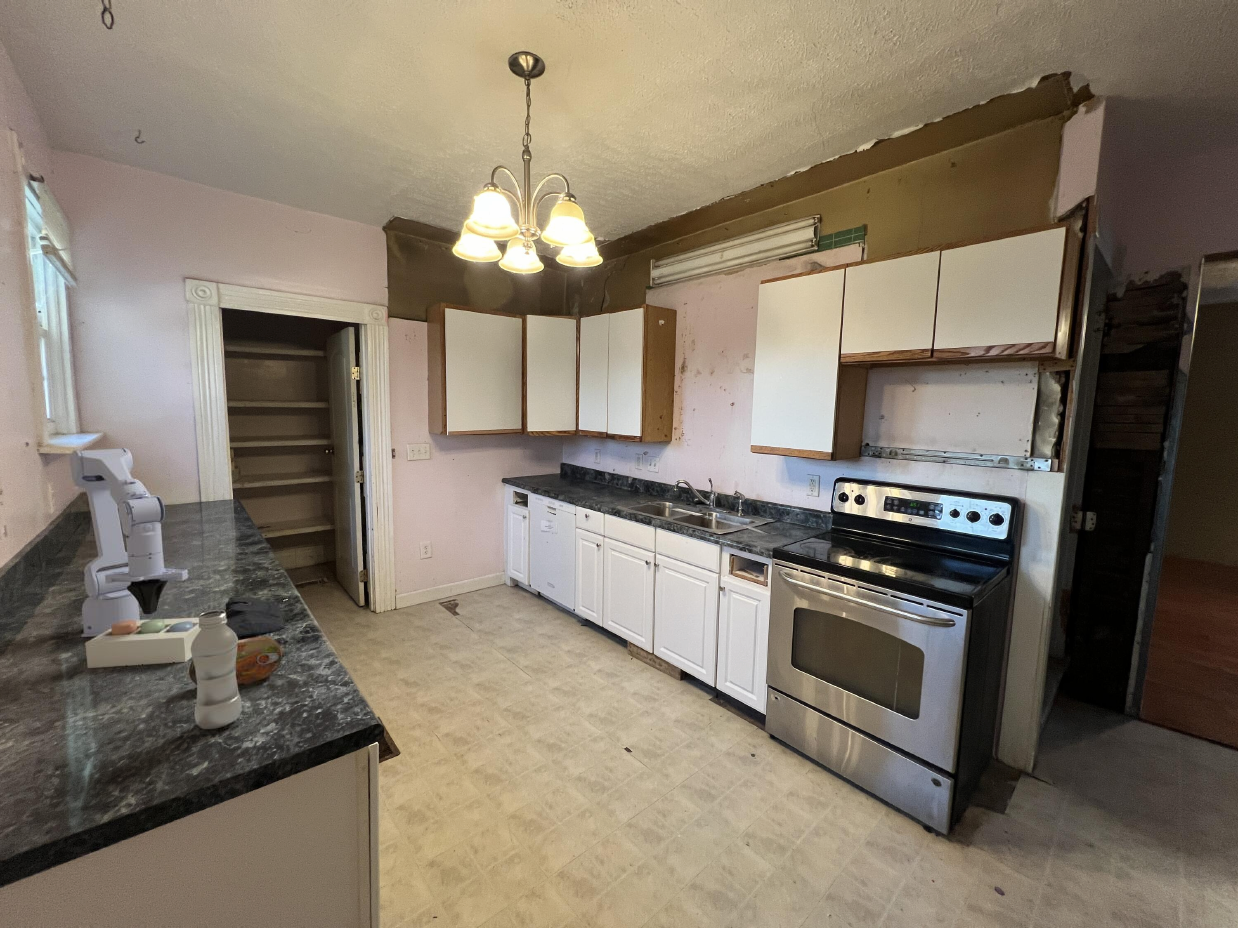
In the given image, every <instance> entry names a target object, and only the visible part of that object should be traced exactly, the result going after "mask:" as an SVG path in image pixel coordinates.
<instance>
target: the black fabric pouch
mask: <svg viewBox="0 0 1238 928" xmlns="http://www.w3.org/2000/svg"><path fill="white" fill-rule="evenodd" d="M280 609H281V608H280V606H279V604H278V602H275V601H266V600H261V599H259V598H256V597H251V596H249V597H247V596H246V597H244V596H231V597H229V598H228V601H227V602H226V603H225V609H224V610H223V611H225V612H226V618H227V623H226V626H228V627H229V628H230V629H232V630H233V631H234V632H235V633H236V635H237V638H239V637H245V636H252V635H255V636H256V635H260V634H268V633H275V632H277V631H278V632H279V631H280V630H284V629H285V628H286V625H285V622H284V617H283V615H282V611H281V610H280Z"/></svg>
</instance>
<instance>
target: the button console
mask: <svg viewBox="0 0 1238 928" xmlns="http://www.w3.org/2000/svg"><path fill="white" fill-rule="evenodd" d="M149 620H150V619H140V620H139V621H136V626H137V630H136V631H134V632H133V633H131V634H129V635H114V636H112V631H111V629H109V630H108V631H106V632H104V633H102V634H100V635H99V636H94V637H93V638H92V639H90V640H88V641H86V642H85V643H84V645H85V651H86V652H85V654H86V663H87V665H86V666H87V669H93V668H108V667H124V666H126V665H127V666H138V665H139V666H140V665H141V666H143V665H155V664H156V665H157V664H170V663H171V664H172V663H173V662H175V663H187V661H188V660H190V659H192V654H191V645H192V642H193V640H194V639H195V637H196V636H197V634H198V633H199V632H200V630H201V628H199V617H186V618H185V617H182V618H164V620H165V629H164V630H162V631H161V632H159V633H151V634H141V627H140V625H141V624H142V623H143V622H146V621H149ZM186 621H190V622H193V628H191V629H190V630H189V631H187V632H170V628H169V627H170V626H171V625H173V624H176V623H179V622H186ZM142 664H143V665H142Z"/></svg>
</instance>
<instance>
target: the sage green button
mask: <svg viewBox="0 0 1238 928" xmlns="http://www.w3.org/2000/svg"><path fill="white" fill-rule="evenodd" d="M164 619H165V618H164ZM164 619H163V618H156V619H155V618H153V619H148V620H149V621H146V622H143V623H142V624H141V625H140V627H141V634H151V633H159V632H161V631H162V630H164V629H165V620H164Z"/></svg>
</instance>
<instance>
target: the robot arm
mask: <svg viewBox="0 0 1238 928" xmlns="http://www.w3.org/2000/svg"><path fill="white" fill-rule="evenodd" d="M133 467H134V460H133V456H132V453H131V451H130V450H129V449H128V448H126V447H122V448H121V447H120V448H110V449H109V448H107V449H87V450H86V449H85V450H78V449H74V450H73V451H72V452H70V454H69V468H70V473H71V478H72V482H73V483H74V486H75V487H77V488H81V489H84V490H85V493H86V495H87V499H88V504H89V509H90V515H91V516H90V517H91V520H92V526H93V532H94V538H95V543H96V549H97V554H98V556H97V557H95V558H94V559H92V561H90V562H89V563H88V564H87V565H85V568H84V570H83V572H84V581H83V582H84V588H85V591H86V594H87V596H88V597H87V598H85V600H84V602H83V604H82V608H81V616H82V617H81V618H82V626H83V628H82V629H83V633H82V634H81V637H82V638H86V637H88V638H89V637H97V636H99V635H100V634H102V633H104V632H106V631H108V630H109V629H111V626H112V625H113V624H116V623H118V622H122V621H128V620H134V621H139V620H141V619H140V609H141V611H142V613H143V615H152V614H153V613H155V612H157V611H158V610H157V609H158V605H159V601H160V598H161V595H162V594H163V593H162V592H163V590H164V589H165V587H166V584H168V581H177V582H183V581H185V580H187V579H188V578H189V575H188V574H189V573H188V569H177V568H176V569H175V568H165V562H164V549H163V538H162V535H163V534H162V524H161V523H162V522H164V520H165V517H166V510H165V509H166V508H165V504H164V502H163V500H162V498H161V496H159V495H153V494H152V495H151V494H150V492H149V491H148V490H147V487H146V486H144V484H143V483H142V482H141V480H138V479H136V478H133V477H132V475H131V472H132V470H133ZM123 534H124V535H125V542H126V549H125V543H124V538H123V537H124V536H123ZM120 565H121V566H120ZM112 566H115V567H112ZM101 568H103V569H101ZM139 607H140V608H139Z"/></svg>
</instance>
